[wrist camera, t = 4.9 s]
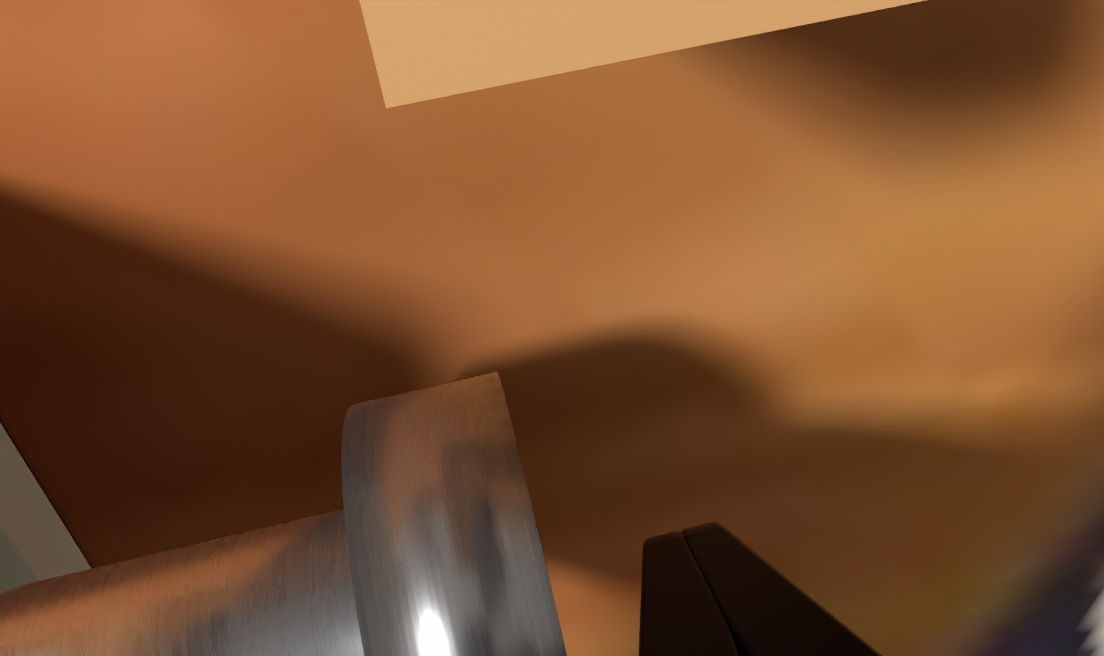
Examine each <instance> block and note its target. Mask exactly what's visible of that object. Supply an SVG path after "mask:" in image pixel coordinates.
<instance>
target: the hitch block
mask: <svg viewBox="0 0 1104 656" xmlns="http://www.w3.org/2000/svg"><path fill="white" fill-rule="evenodd" d="M87 569H91V567H90V566H89V564H88V562H87V561H86V559H85V558H84V556H83V554H82V553H81V551H80V550H79V548H78V546H77V545H76V543H75V542H74V540H73V538H72V537H71V535H70V534H69V532H68V530H67V529H66V527H65V526H64V524H63V522H62V521H61V519H60V518H59V516H58V514H57V513H56V511H55V510H54V508H53V506H52V505H51V503H50V502H49V500H48V498H47V497H46V495H45V494H44V492H43V491H42V489H41V487H40V486H39V484H38V483H37V481H36V479H35V478H34V476H33V475H32V473H31V471H30V470H29V468H28V467H27V465H26V463H25V462H24V460H23V459H22V457H21V455H20V454H19V452H18V451H17V449H16V447H15V446H14V444H13V443H12V441H11V439H10V438H9V436H8V435H7V433H6V431H5V430H4V428H3V427H2V425H1V423H0V590H3V589H8V588H12V587H16V586H20V585H24V584H29V583H33V582H37V581H41V580H45V579H50V578H54V577H58V576H62V575H66V574H71V573H75V572H79V571H83V570H87Z"/></svg>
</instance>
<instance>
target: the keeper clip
mask: <svg viewBox="0 0 1104 656" xmlns="http://www.w3.org/2000/svg"><path fill="white" fill-rule="evenodd" d="M359 1H360V5H361V9H362V13H363V17H364V21H365V25H366V29H367V33H368V37H369V41H370V45H371V49H372V53H373V57H374V61H375V65H376V69H377V73H378V77H379V81H380V85H381V89H382V93H383V97H384V101H385V105H386V108H390V107H395V106H400V105H405V104H410V103H415V102H420V101H425V100H430V99H435V98H440V97H445V96H450V95H455V94H460V93H465V92H470V91H475V90H480V89H485V88H490V87H495V86H500V85H505V84H510V83H515V82H520V81H525V80H530V79H535V78H540V77H545V76H550V75H555V74H560V73H565V72H570V71H575V70H580V69H585V68H590V67H595V66H600V65H605V64H610V63H615V62H620V61H625V60H630V59H635V58H640V57H645V56H650V55H655V54H660V53H665V52H670V51H675V50H680V49H685V48H690V47H695V46H700V45H705V44H710V43H715V42H720V41H725V40H730V39H735V38H740V37H745V36H750V35H755V34H760V33H765V32H770V31H775V30H780V29H785V28H790V27H796V26H801V25H806V24H811V23H816V22H821V21H826V20H831V19H836V18H841V17H846V16H851V15H856V14H861V13H866V12H871V11H876V10H881V9H886V8H891V7H896V6H901V5H906V4H911V3H916V2H921V1H926V0H359Z"/></svg>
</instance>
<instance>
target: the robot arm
mask: <svg viewBox="0 0 1104 656" xmlns="http://www.w3.org/2000/svg"><path fill="white" fill-rule="evenodd" d="M639 656H882V655H881V654H880V653H878V652H877V651H876V650H875V649H873V648H872V647H871V646H870V645H868V644H867V643H866V642H865V641H864V640H862V639H861V638H860V637H859V636H857V635H856V634H855V633H854V632H853V631H851V630H850V629H849V628H848V627H846V626H845V625H844V624H843V623H841V622H840V621H839V620H838V619H837V618H835V617H834V616H833V615H832V614H830V613H829V612H828V611H827V610H826V609H824V608H823V607H822V606H821V605H819V604H818V603H817V602H816V601H814V600H813V599H812V598H811V597H810V596H808V595H807V594H806V593H805V592H803V591H802V590H801V589H800V588H799V587H797V586H796V585H795V584H794V583H792V582H791V581H790V580H789V579H787V578H786V577H785V576H784V575H783V574H781V573H780V572H779V571H778V570H776V569H775V568H774V567H773V566H771V565H770V564H769V563H768V562H767V561H765V560H764V559H763V558H762V557H760V556H759V555H758V554H757V553H756V552H754V551H753V550H752V549H751V548H749V547H748V546H747V545H746V544H744V543H743V542H742V541H741V540H740V539H738V538H737V537H736V536H735V535H733V534H732V533H731V532H730V531H729V530H727V529H726V528H725V527H724V526H722V525H721V524H719V523H715V522H712V523H707V524H703V525H699V526H695V527H691V528H687V529H684V530H683V531H681V533H680V532H671V533H668V534H664V535H660V536H656V537H652V538H648V539H646V540H645V542H644V544H643V555H642V581H641V607H640V633H639Z"/></svg>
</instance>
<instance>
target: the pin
mask: <svg viewBox="0 0 1104 656" xmlns="http://www.w3.org/2000/svg"><path fill="white" fill-rule="evenodd" d="M341 469H342V492H343V507H344V509H339V510H335V511H331V512H327V513H323V514H318V515H314V516H310V517H306V518H302V519H297V520H293V521H289V522H285V523H281V524H276V525H272V526H268V527H264V528H260V529H255V530H251V531H247V532H243V533H239V534H234V535H230V536H226V537H222V538H218V539H213V540H209V541H205V542H201V543H197V544H192V545H188V546H184V547H180V548H176V549H171V550H167V551H163V552H159V553H155V554H150V555H146V556H142V557H138V558H134V559H129V560H125V561H121V562H117V563H113V564H108V565H104V566H100V567H96V568H92V569H87V570H83V571H79V572H75V573H71V574H66V575H62V576H58V577H54V578H50V579H45V580H41V581H37V582H33V583H29V584H24V585H20V586H16V587H12V588H8V589H3V590H0V656H567V655H566V650H565V646H564V641H563V637H562V633H561V628H560V624H559V620H558V615H557V611H556V606H555V602H554V598H553V593H552V589H551V585H550V580H549V576H548V572H547V567H546V563H545V559H544V555H543V550H542V546H541V542H540V537H539V533H538V529H537V525H536V521H535V516H534V512H533V508H532V504H531V499H530V495H529V491H528V487H527V483H526V479H525V474H524V470H523V466H522V462H521V458H520V454H519V450H518V446H517V442H516V438H515V434H514V430H513V426H512V422H511V418H510V414H509V410H508V406H507V402H506V398H505V395H504V391H503V387H502V384H501V380H500V377H499V374H498V372H494V373H489V374H485V375H481V376H476V377H472V378H468V379H463V380H459V381H454V382H450V383H446V384H441V385H437V386H432V387H428V388H424V389H419V390H415V391H411V392H406V393H402V394H397V395H393V396H389V397H384V398H380V399H375V400H371V401H367V402H362V403H358V404H354V405H351V406H349V408H348V410H347V412H346V414H345V418H344V422H343V431H342V447H341Z"/></svg>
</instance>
